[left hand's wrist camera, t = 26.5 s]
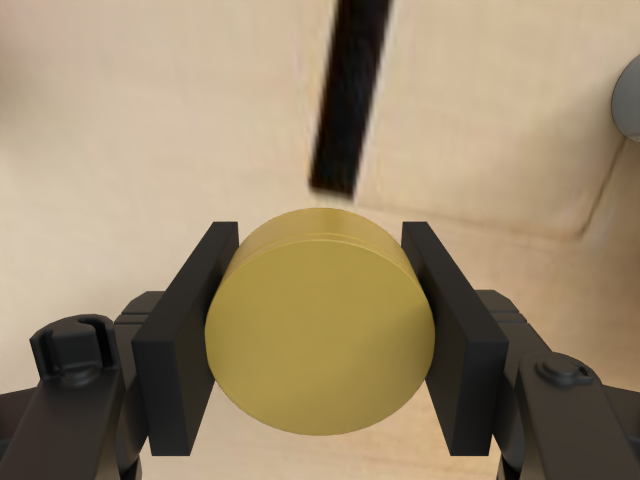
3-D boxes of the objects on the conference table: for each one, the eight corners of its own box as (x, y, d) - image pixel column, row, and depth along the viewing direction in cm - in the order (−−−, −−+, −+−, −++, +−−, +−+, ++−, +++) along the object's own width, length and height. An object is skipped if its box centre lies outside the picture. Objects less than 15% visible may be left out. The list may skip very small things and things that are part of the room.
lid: (328, 163, 11) (331, 188, 9) (453, 305, 12) (482, 355, 10) (184, 290, 12) (154, 339, 10) (312, 405, 13) (311, 469, 11)
